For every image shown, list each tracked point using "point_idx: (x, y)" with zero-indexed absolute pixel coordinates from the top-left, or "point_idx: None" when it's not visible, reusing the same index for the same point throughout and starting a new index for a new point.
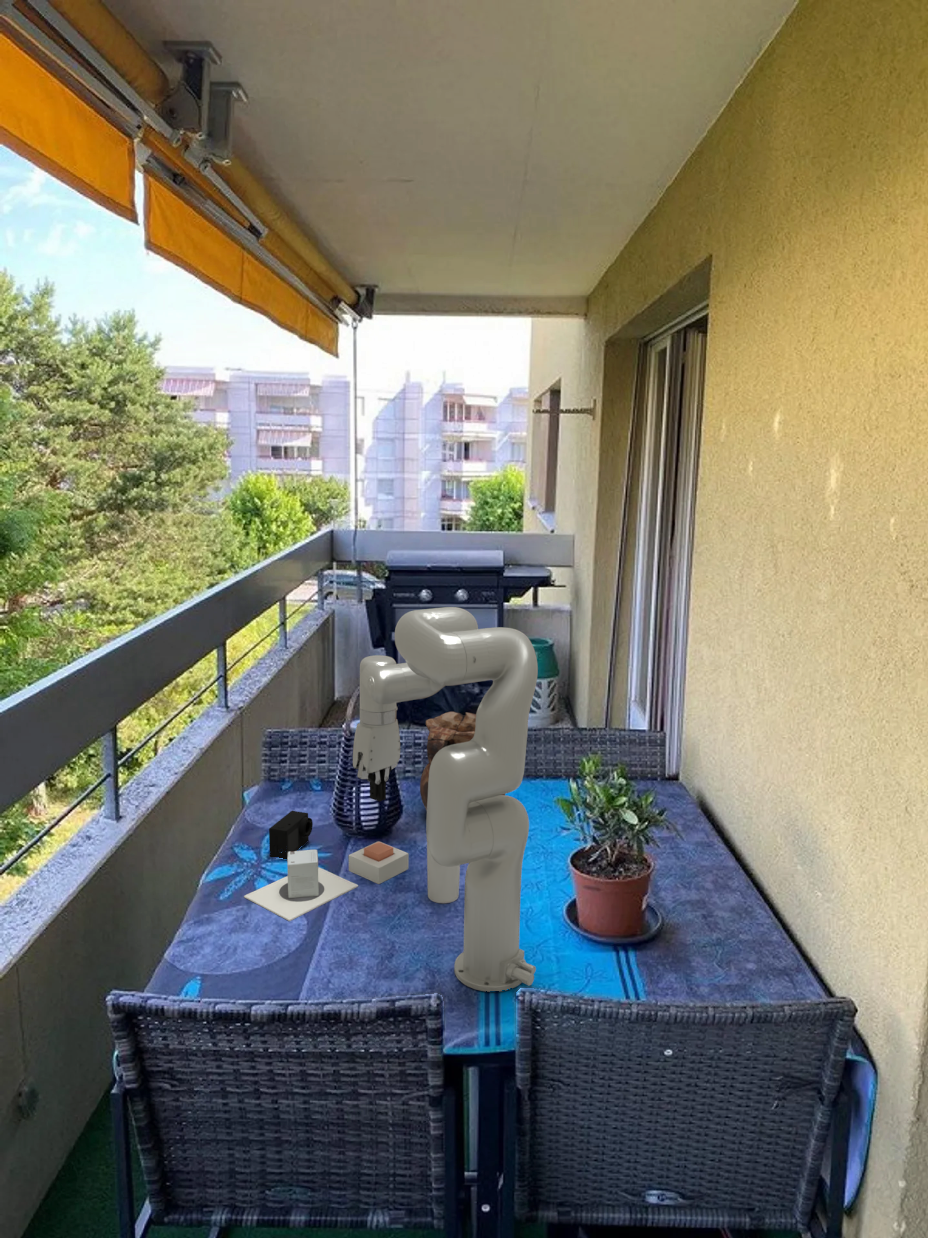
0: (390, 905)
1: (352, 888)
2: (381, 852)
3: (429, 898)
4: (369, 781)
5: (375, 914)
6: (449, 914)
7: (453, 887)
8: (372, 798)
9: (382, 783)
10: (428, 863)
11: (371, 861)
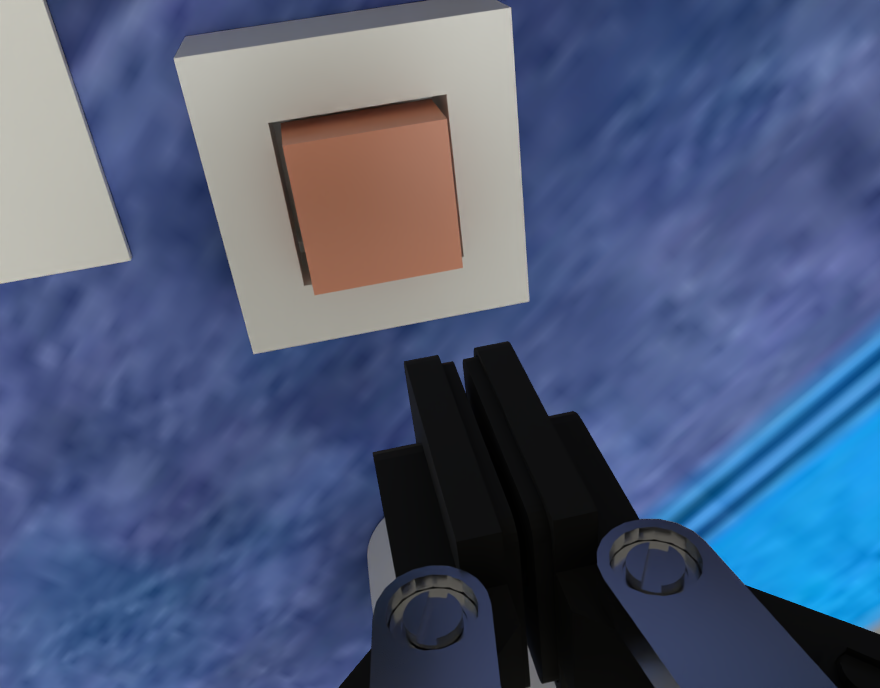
0: (184, 495)
1: (81, 268)
2: (350, 280)
3: (369, 544)
4: (400, 605)
5: (72, 523)
6: (355, 650)
7: None
8: (410, 402)
9: (543, 678)
10: None
11: (264, 255)
